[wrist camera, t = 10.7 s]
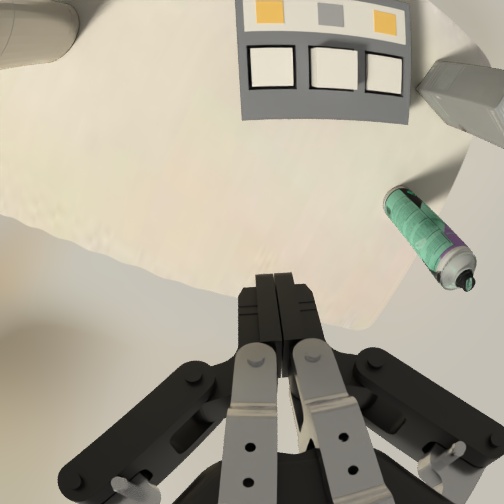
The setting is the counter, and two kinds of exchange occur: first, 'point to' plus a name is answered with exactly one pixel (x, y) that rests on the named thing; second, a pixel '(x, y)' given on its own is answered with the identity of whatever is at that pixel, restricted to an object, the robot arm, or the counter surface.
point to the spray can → (431, 239)
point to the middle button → (334, 68)
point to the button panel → (324, 36)
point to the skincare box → (467, 98)
